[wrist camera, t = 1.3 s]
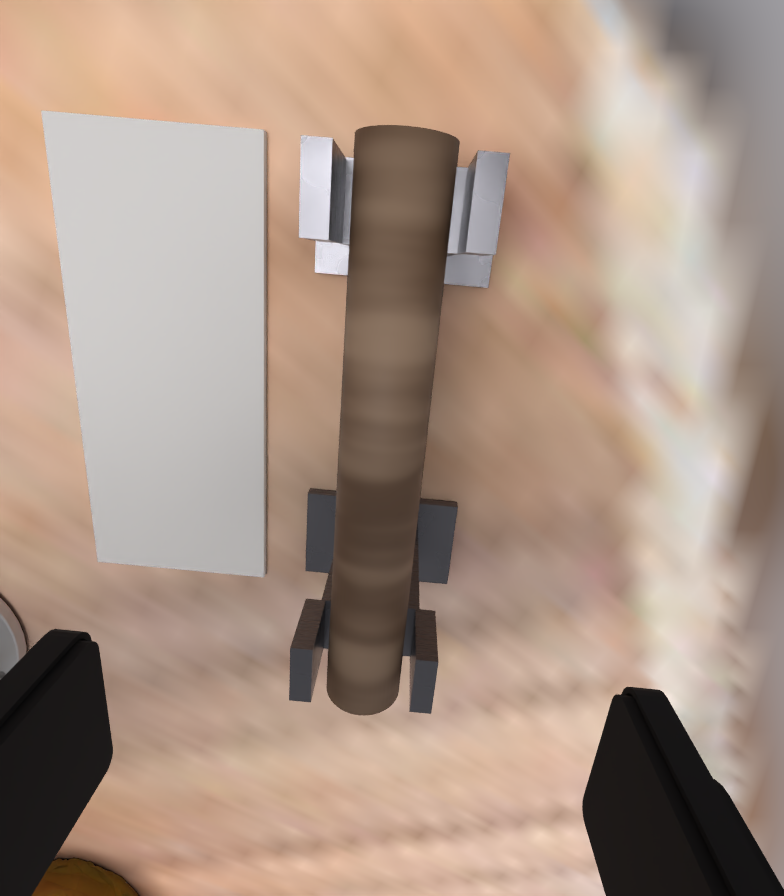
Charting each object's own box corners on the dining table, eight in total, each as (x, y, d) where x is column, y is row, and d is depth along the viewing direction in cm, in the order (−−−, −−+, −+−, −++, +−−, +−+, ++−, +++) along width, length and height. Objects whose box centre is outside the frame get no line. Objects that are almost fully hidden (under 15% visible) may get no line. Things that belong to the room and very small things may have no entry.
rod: (399, 662, 28) (397, 718, 24) (332, 656, 28) (321, 711, 24) (455, 153, 20) (464, 131, 16) (360, 145, 20) (349, 121, 16)
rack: (446, 577, 37) (463, 741, 25) (307, 564, 38) (253, 721, 25) (501, 173, 29) (573, 102, 16) (320, 157, 29) (246, 74, 16)
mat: (266, 572, 38) (264, 577, 37) (102, 557, 38) (97, 561, 37) (266, 132, 28) (263, 129, 28) (48, 113, 29) (41, 110, 28)
